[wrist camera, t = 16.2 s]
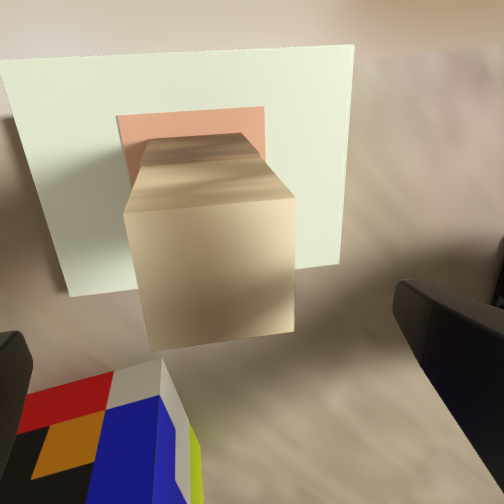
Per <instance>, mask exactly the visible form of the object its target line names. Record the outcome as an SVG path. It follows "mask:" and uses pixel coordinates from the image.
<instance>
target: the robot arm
mask: <svg viewBox="0 0 504 504" xmlns="http://www.w3.org/2000/svg"><path fill="white" fill-rule="evenodd" d="M392 310H393V314H394V317H395V319H396V321H397V323H398V325H399V327H400V329H401V331H402V333H403V334H404V336H405V338H406V340H407V342H408V344H409V346H410V348H411V350H412V352H413V354H414V356H415V358H416V360H417V361H418V363H419V365H420V367H421V368H422V370H423V371H424V373H425V375H426V376H427V378H428V379H429V381H430V382H431V384H432V385H433V387H434V388H435V390H436V391H437V393H438V394H439V396H440V397H441V399H442V400H443V402H444V404H445V405H446V407H447V408H448V410H449V411H450V413H451V414H452V416H453V417H454V419H455V420H456V422H457V423H458V425H459V426H460V428H461V429H462V431H463V432H464V434H465V435H466V437H467V439H468V440H469V442H470V443H471V445H472V446H473V448H474V449H475V451H476V452H477V454H478V455H479V457H480V458H481V460H482V461H483V463H484V464H485V466H486V467H487V469H488V470H489V472H490V474H491V475H492V477H493V478H494V480H495V481H496V483H497V484H498V486H499V487H500V489H501V490H502V492H503V493H504V265H503V268H502V272H501V275H500V278H499V282H498V285H497V288H496V292H495V295H494V299H493V302H492V305H488V304H485V303H483V302H480V301H477V300H474V299H472V298H469V297H466V296H463V295H460V294H458V293H455V292H452V291H449V290H446V289H444V288H441V287H438V286H435V285H433V284H430V283H427V282H424V281H421V280H419V279H416V278H408V279H401V280H399V281H397V283H396V286H395V292H394V299H393V305H392ZM32 370H33V359H32V356H31V354H30V351H29V349H28V346H27V344H26V341H25V339H24V336H23V335H22V333H21V332H19V331H9V332H1V333H0V480H1V477H2V474H3V471H4V468H5V466H6V463H7V460H8V457H9V455H10V452H11V449H12V446H13V444H14V441H15V438H16V435H17V432H18V428H19V424H20V420H21V416H22V412H23V408H24V404H25V399H26V395H27V391H28V387H29V383H30V379H31V374H32Z"/></svg>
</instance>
